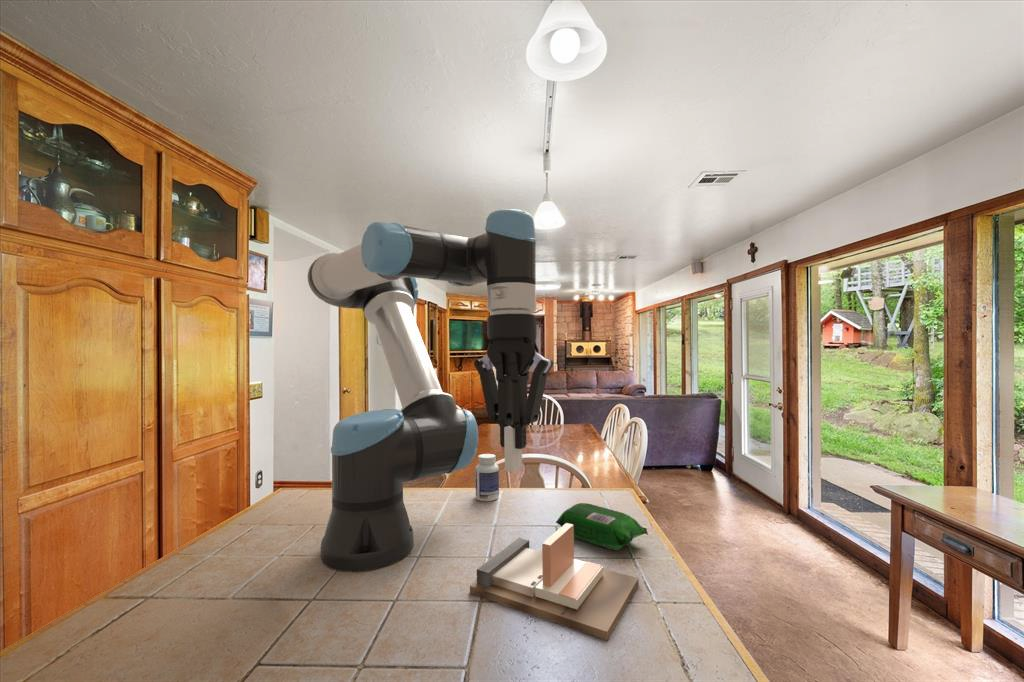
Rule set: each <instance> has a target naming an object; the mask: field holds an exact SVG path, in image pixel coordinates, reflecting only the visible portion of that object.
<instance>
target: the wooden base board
mask: <svg viewBox="0 0 1024 682" xmlns="http://www.w3.org/2000/svg"><path fill="white" fill-rule="evenodd" d="M542 580H543V569H542V551H539V550H537V549H533V548H530V540H529V539H525V538H521V537H518V538H517V539H515V540H514V541H513V542H511V543H510V544H508V545H507V546H506V547H504V548H503V549H502V550H500V551H499V552H498V553H497V554H495V555H494V556H492V557H491V558H490V559H488V560H487V561H486V562H484V563H483V564H482V565H481V566H479V567H478V568H477V569H476V580H475V581H474V582H473V583H471V584H470V585H469V593H470V594H471V595H475V596H478V597H480V598H484V599H486V600H489V601H492V602H495V603H498V604H500V605H503V606H506V607H508V608H512V609H515V610H518V611H520V612H523V613H527V614H529V615H533V616H535V617H538V618H542V619H544V620H547V621H551V622H552V623H555V624H559V625H562V626H565V627H567V628H571V629H574V630H576V631H579V632H582V633H584V634H588V635H590V636H594V637H596V638H600V639H602V640H605V641H608V640H609V638H610V637H611V634H612V633H613V631H614V629H615V627H616V625H617V624H618V622H619V620H620V618H621V616H622V615H623V613H624V612H625V610H626V608H627V607H628V605H629V603H630V602H631V599H632V597H634V594H635V592H636V590H637V588H638V586H639V584H640V583H639V577H636V576H633V575H629V574H628V575H627V574H625V573H621V572H617V571H614V570H609V569H605V568H603V576H602V577H601V578H600V580H599V581H598V582H597V584H596V585H595V586H594V588H593V589H592V590H591V592H590V593H589V594H588V596H587V597H586V598H585V600H584V601H583V603H582V604H581V605H580V607H579V608H578V609H573V608H570V607H567V606H564V605H561V604H558V603H555V602H552V601H548V600H545V599H542V598H539V597H536V596H535V587H536V586H537V585H538V584H539V583H540V582H541V581H542Z"/></svg>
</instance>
